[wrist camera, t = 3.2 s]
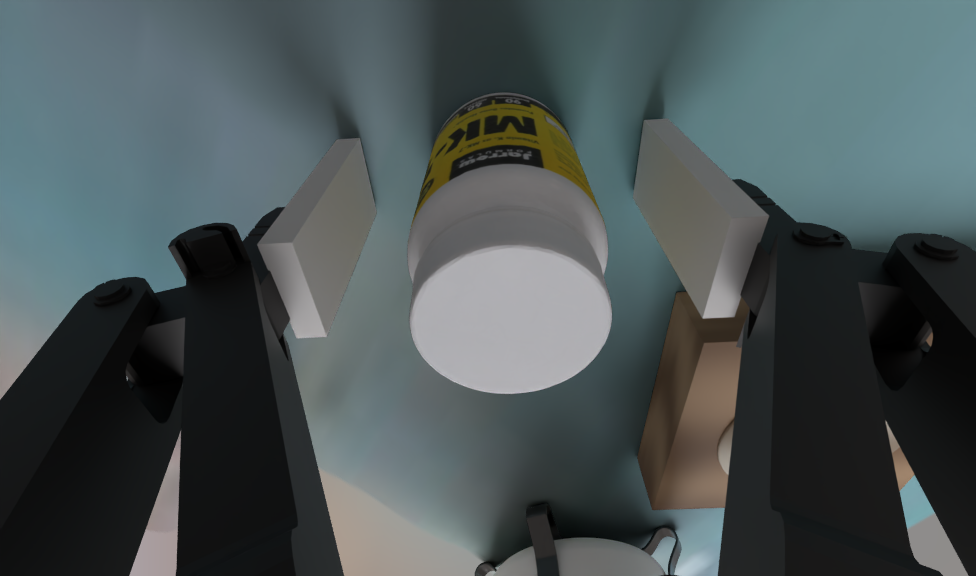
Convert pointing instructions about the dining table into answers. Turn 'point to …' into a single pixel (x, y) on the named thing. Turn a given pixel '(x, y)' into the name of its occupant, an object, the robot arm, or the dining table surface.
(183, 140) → the dining table surface
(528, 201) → the supplement bottle
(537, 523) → the coffee press
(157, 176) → the dining table surface
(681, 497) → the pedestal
